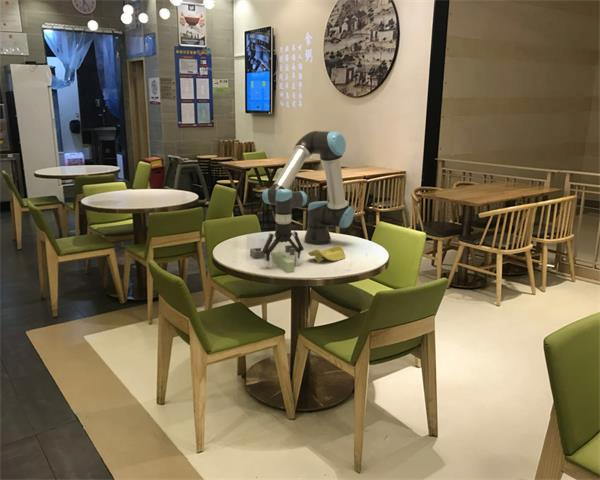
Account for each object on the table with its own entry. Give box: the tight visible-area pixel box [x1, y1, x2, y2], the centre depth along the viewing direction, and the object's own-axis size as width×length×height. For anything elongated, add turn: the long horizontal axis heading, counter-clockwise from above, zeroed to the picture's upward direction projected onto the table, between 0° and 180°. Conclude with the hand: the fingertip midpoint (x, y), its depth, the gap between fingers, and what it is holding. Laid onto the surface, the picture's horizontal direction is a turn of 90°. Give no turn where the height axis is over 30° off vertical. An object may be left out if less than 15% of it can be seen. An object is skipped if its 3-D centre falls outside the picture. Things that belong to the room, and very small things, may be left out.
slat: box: [271, 251, 296, 274], centre depth 246 cm, size 20×4×5 cm, turn 23°
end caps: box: [249, 244, 299, 260], centre depth 267 cm, size 25×7×4 cm, turn 113°
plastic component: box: [307, 245, 346, 263], centre depth 260 cm, size 20×7×10 cm
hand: (282, 266), depth 247 cm, fingers open, 13 cm apart
